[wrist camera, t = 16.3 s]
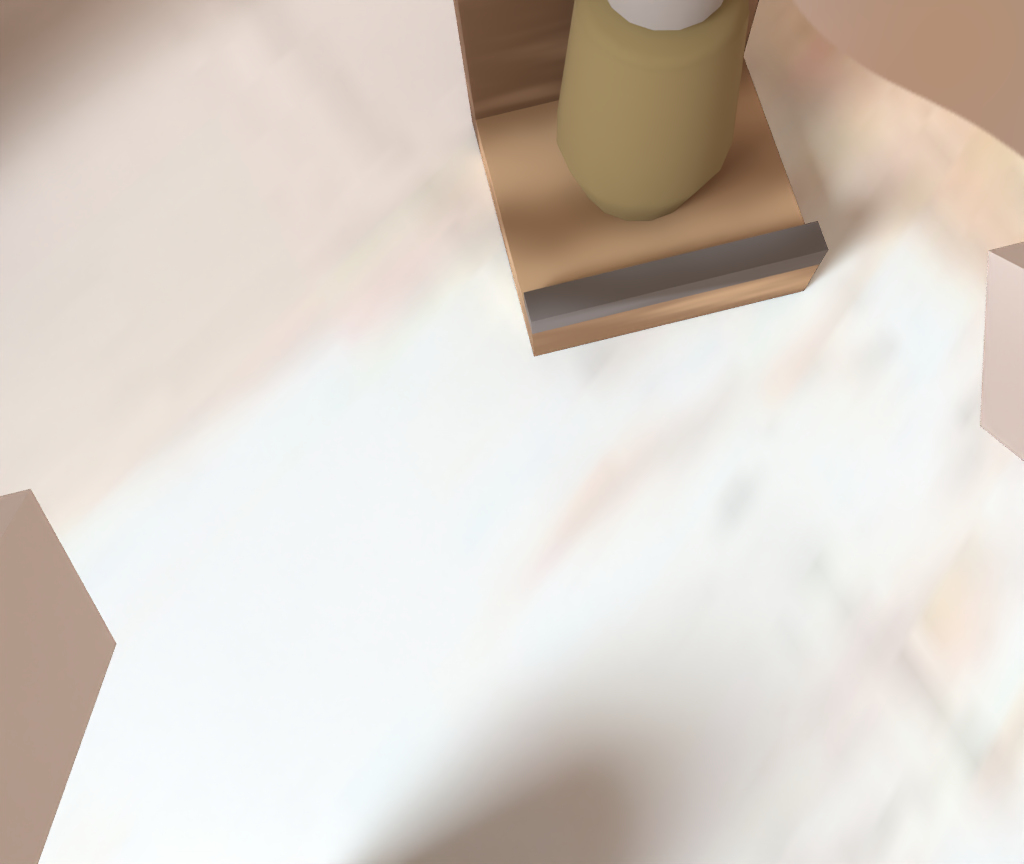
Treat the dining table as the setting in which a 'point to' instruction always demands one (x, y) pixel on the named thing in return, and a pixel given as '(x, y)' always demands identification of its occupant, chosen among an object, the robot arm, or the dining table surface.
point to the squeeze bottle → (649, 99)
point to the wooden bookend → (605, 238)
